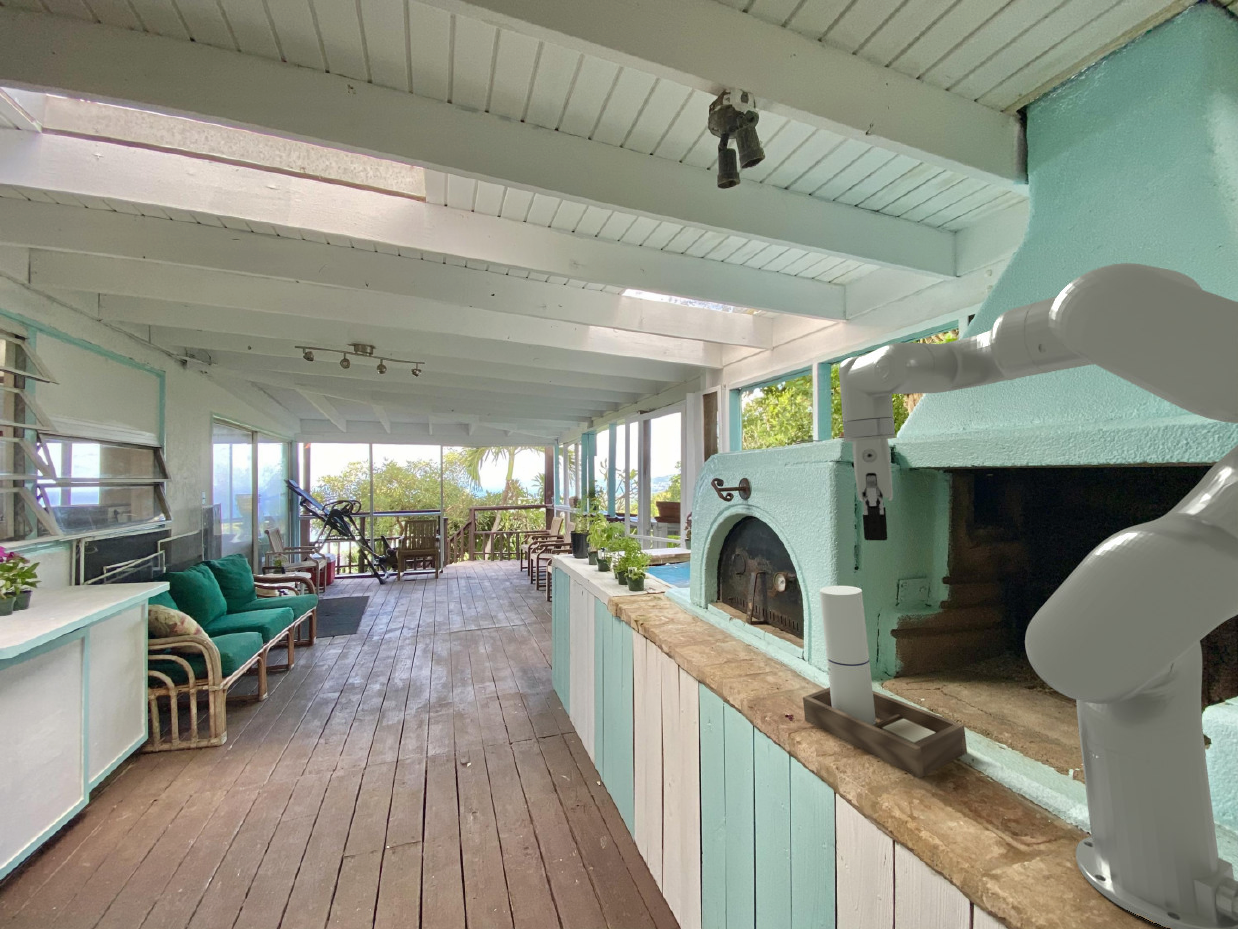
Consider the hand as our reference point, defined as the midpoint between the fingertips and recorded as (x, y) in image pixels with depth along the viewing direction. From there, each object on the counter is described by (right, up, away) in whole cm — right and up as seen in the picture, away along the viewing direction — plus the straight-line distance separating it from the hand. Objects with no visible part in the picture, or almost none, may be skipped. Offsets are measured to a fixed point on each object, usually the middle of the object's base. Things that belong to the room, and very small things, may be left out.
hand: (876, 535), depth 82 cm
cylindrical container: (+1, -37, +9) cm, 38 cm away
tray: (+3, -36, +4) cm, 36 cm away
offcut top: (+5, -33, -1) cm, 34 cm away
